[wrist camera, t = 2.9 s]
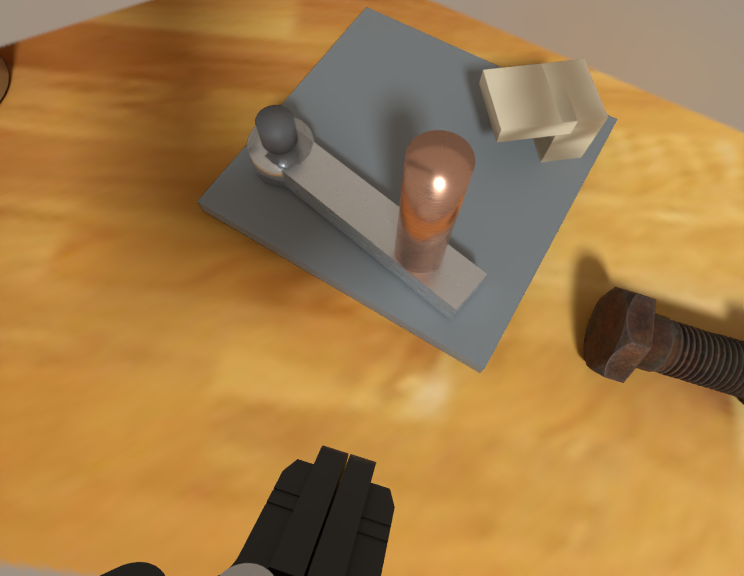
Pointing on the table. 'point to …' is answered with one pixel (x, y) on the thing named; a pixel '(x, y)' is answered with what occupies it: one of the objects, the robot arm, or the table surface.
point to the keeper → (545, 106)
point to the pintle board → (385, 173)
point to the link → (390, 208)
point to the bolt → (659, 345)
